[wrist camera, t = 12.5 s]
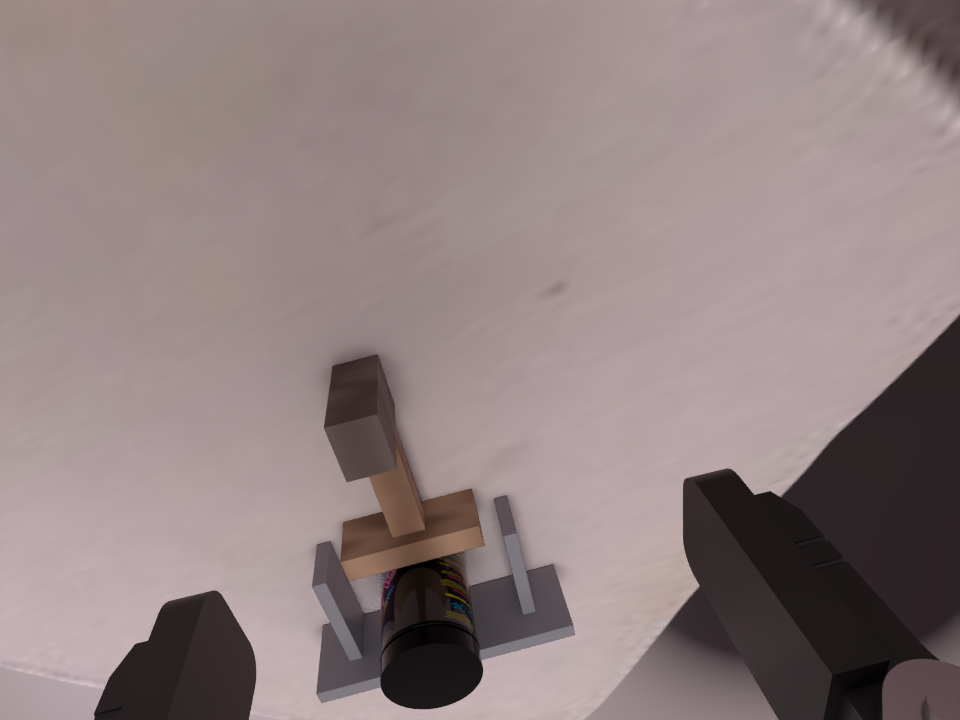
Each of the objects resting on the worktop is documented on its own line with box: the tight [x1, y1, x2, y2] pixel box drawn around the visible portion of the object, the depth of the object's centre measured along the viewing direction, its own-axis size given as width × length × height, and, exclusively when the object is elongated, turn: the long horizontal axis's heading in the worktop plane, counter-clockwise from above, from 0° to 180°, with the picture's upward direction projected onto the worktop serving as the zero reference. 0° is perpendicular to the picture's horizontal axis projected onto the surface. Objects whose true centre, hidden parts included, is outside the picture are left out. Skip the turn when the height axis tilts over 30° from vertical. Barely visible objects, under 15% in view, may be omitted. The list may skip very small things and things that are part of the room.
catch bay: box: [312, 496, 575, 703], centre depth 45 cm, size 20×10×6 cm, turn 102°
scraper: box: [324, 355, 484, 581], centre depth 39 cm, size 10×15×7 cm, turn 12°
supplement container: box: [380, 551, 483, 709], centre depth 43 cm, size 7×7×10 cm
